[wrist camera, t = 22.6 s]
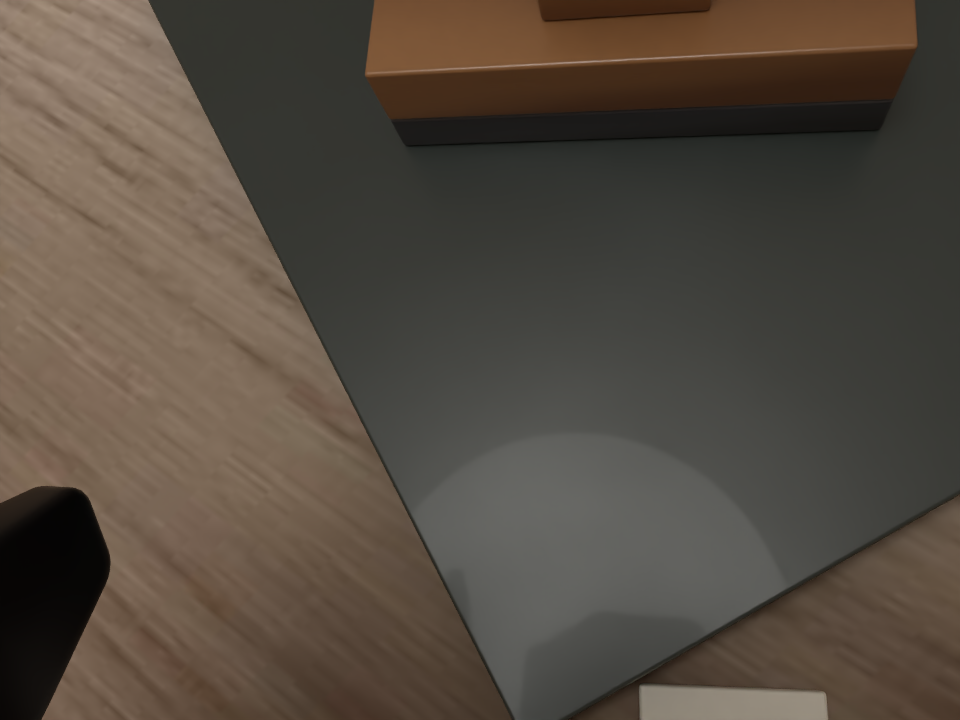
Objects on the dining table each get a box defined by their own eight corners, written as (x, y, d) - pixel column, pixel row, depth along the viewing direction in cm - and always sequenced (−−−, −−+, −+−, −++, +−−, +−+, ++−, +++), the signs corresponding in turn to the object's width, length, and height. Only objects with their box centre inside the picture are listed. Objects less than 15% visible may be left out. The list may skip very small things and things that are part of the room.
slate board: (1472, 197, 14) (1527, 168, 13) (532, 736, 15) (523, 744, 14) (791, -403, 21) (798, -451, 20) (153, -6, 21) (130, -35, 21)
